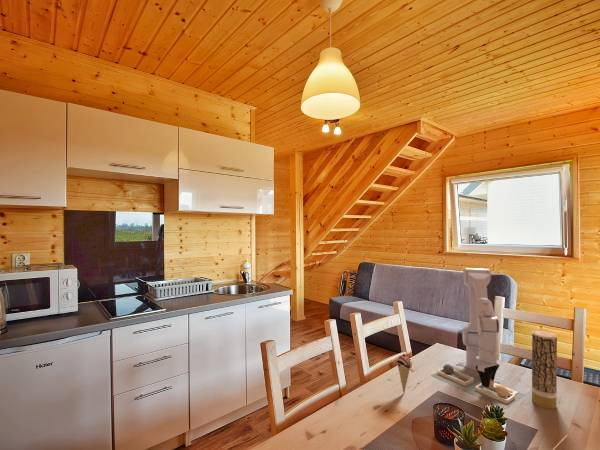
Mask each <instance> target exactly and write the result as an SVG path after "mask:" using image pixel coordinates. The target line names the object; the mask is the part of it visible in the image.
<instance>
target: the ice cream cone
mask: <svg viewBox="0 0 600 450" xmlns="http://www.w3.org/2000/svg"><path fill="white" fill-rule="evenodd" d="M395 364H396V365H397V367H398V372H399V373H398V374H399V377H400V384H401V387H402V392H403V393H405V391H406V387H407V383H408V378H409V373H410V370H411V368H412V366H413V363H412V362H411V358H410V357H409V356H407V355H406V354H405V353H402V354H400V355H399V356H398V357H397V360H396V361H395Z"/></svg>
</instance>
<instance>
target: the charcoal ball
mask: <svg viewBox="0 0 600 450" xmlns="http://www.w3.org/2000/svg"><path fill="white" fill-rule="evenodd" d="M452 366H453V365H451V364H444V365H443V367H442V368H443V371H444V372H445V373H446V374H448V375H451V374H453V372H454V369H453V367H452Z"/></svg>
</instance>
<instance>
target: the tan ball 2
mask: <svg viewBox="0 0 600 450" xmlns="http://www.w3.org/2000/svg"><path fill="white" fill-rule="evenodd" d="M501 385H502V384H500V386H497V387H496V393H497V395H498V396H499V397H502V398H506V397H507V396H508V395H509V392H508V390H507V388H506V387H507V386H505V387H504V385H502V386H501Z"/></svg>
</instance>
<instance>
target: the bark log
mask: <svg viewBox="0 0 600 450" xmlns="http://www.w3.org/2000/svg"><path fill="white" fill-rule="evenodd" d="M531 332H532V334H531V335H532V336H531V338H532V339H531V344H532V345H531V347H532V348H531V358H532V359H531V400H532V403H533V404H535V405H536V406H538V407H541V408H544V409H548V410H554V409H556V408H557V393H558V391H557V388H558V387H557V381H558V379H557V376H558V375H557V372H558V371H557V370H558V369H557V364H558V361H557V359H558V354H557V353H558V348H557V347H558V337H557V336H558V335H557V334H555V333H553V332H550V331H546V330H538V329H537V330H536V329H535V330H532V331H531Z"/></svg>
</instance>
